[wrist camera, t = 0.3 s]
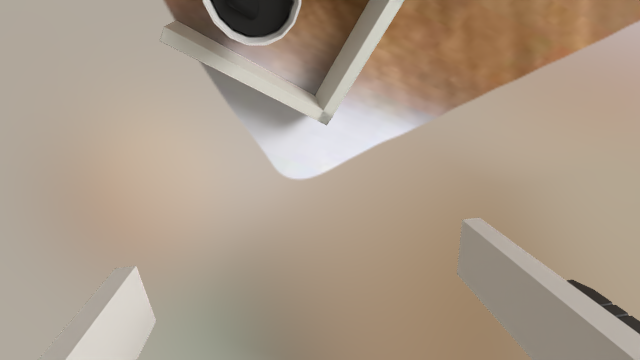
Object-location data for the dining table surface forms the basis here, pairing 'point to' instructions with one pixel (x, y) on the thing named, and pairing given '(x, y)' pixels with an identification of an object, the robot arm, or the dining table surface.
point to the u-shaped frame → (318, 107)
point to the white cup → (254, 19)
